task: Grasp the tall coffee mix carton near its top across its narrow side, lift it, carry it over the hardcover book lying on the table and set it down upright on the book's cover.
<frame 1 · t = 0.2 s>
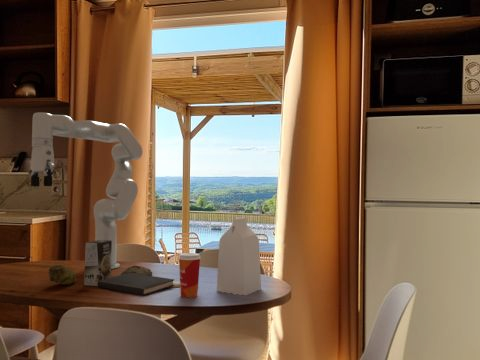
hand: (41, 186, 169), 37 cm above the table, tool pointing down, fingers open, 9 cm apart
coffee box: (98, 283, 161), on the table
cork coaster: (175, 285, 159), on the table
paper cup: (189, 296, 143), on the table
milk: (239, 290, 152), on the table
hardcover book: (136, 287, 155), on the table, touching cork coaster
potato: (63, 285, 158), on the table
bread roll: (135, 278, 174), on the table
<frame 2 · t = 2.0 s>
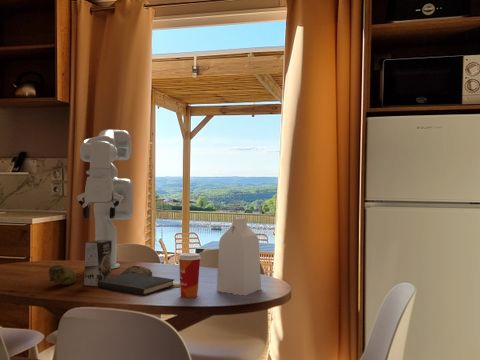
hand: (99, 218, 162), 25 cm above the table, tool pointing down, fingers open, 9 cm apart
nothing on the table moved.
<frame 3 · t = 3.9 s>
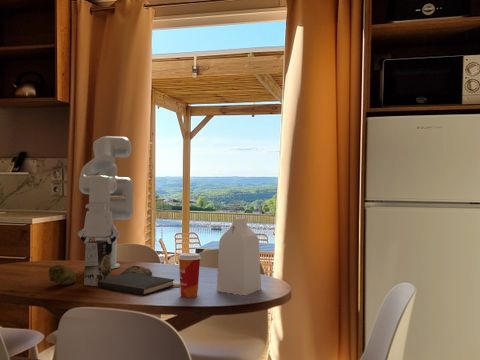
hand: (98, 253, 162), 11 cm above the table, tool pointing down, fingers closed on coffee box, 7 cm apart
coffee box: (98, 283, 161), on the table, touching gripper
everything else where it was.
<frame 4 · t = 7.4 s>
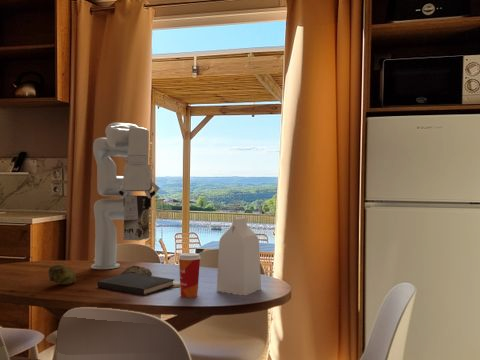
hand: (137, 208, 156), 29 cm above the table, tool pointing down, fingers closed on coffee box, 7 cm apart
coffee box: (136, 239, 156), point 17 cm above the table, touching gripper
everything else where it was.
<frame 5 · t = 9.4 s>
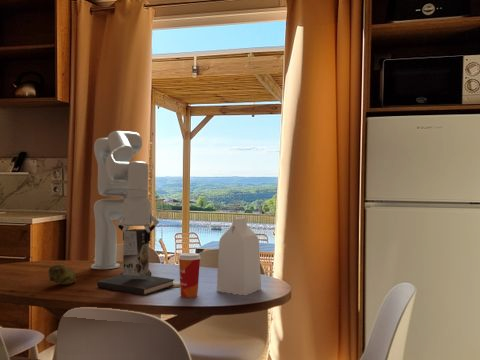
hand: (136, 242, 156), 16 cm above the table, tool pointing down, fingers closed on coffee box, 7 cm apart
coffee box: (136, 273, 155), point 5 cm above the table, touching gripper
everything else where it was.
when the fingers open (14 cm above the table, at t = 10.9 s): coffee box stays where it is, resting on hardcover book.
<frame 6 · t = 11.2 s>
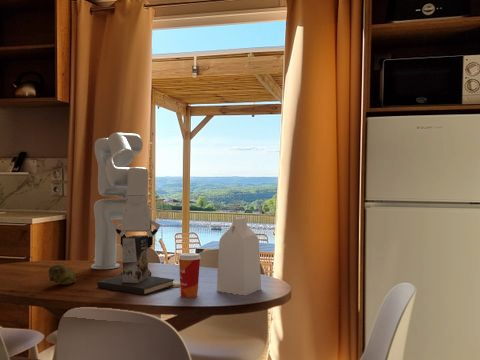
hand: (136, 247, 156), 15 cm above the table, tool pointing down, fingers open, 9 cm apart
coffee box: (135, 280, 155), point 2 cm above the table, touching hardcover book
hardcover book: (135, 287, 155), on the table, touching coffee box, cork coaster
everything else where it was.
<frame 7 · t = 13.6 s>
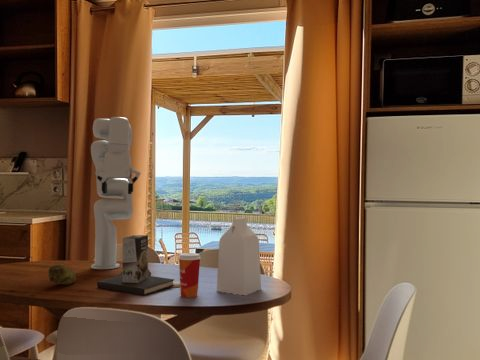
hand: (117, 193, 163), 34 cm above the table, tool pointing down, fingers open, 9 cm apart
nothing on the table moved.
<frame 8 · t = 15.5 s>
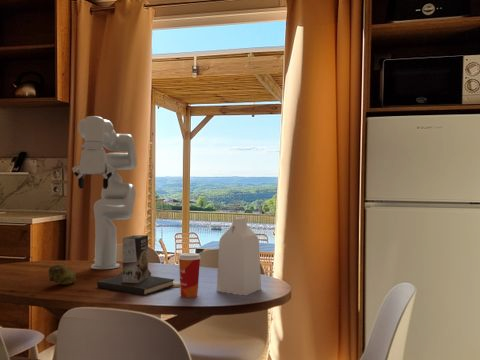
hand: (93, 188, 172), 36 cm above the table, tool pointing down, fingers open, 9 cm apart
nothing on the table moved.
at the end: coffee box inside the target area on the hardcover book (0.3 cm from its centre), point 2.3 cm above the hardcover book's base; coffee box tilted 2°; the gripper is holding nothing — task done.
